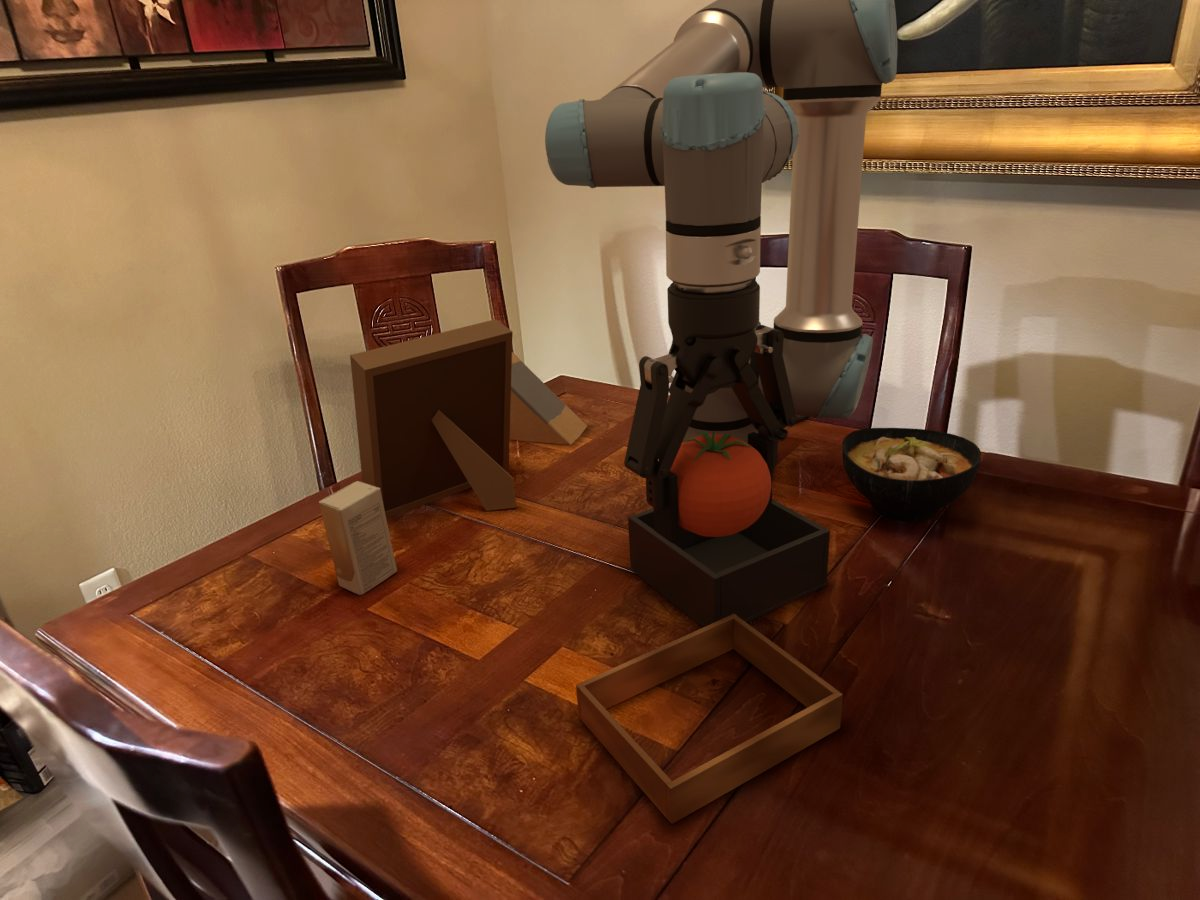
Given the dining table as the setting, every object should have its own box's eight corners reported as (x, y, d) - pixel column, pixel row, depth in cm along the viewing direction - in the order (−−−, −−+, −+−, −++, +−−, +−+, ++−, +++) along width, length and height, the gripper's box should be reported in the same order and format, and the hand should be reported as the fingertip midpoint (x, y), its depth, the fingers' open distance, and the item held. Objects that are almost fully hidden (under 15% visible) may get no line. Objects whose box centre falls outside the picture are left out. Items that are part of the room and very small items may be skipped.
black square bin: (734, 529, 111) (735, 478, 108) (826, 586, 98) (830, 530, 95) (630, 569, 104) (627, 516, 101) (714, 637, 91) (714, 578, 88)
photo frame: (365, 511, 122) (333, 345, 112) (494, 465, 134) (476, 311, 123) (411, 550, 111) (379, 371, 101) (546, 497, 123) (531, 331, 112)
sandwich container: (571, 445, 139) (564, 359, 133) (488, 438, 144) (477, 354, 138) (589, 425, 146) (583, 342, 140) (509, 419, 151) (500, 338, 145)
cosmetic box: (375, 563, 109) (359, 478, 104) (398, 572, 106) (383, 486, 101) (335, 587, 104) (316, 500, 99) (358, 597, 102) (340, 508, 97)
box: (733, 644, 90) (734, 613, 88) (840, 728, 78) (843, 694, 76) (578, 717, 81) (575, 684, 79) (671, 824, 69) (670, 788, 67)
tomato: (770, 561, 73) (773, 458, 69) (653, 556, 75) (649, 456, 71) (769, 503, 82) (772, 409, 78) (665, 501, 84) (662, 408, 80)
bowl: (851, 472, 125) (856, 409, 120) (977, 490, 117) (986, 424, 113) (825, 526, 111) (830, 457, 107) (966, 550, 104) (976, 478, 99)
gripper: (621, 318, 60) (635, 577, 70) (847, 263, 71) (833, 495, 80) (569, 298, 66) (588, 539, 76) (785, 250, 77) (778, 467, 86)
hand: (714, 516), depth 78 cm, fingers closed on tomato, 10 cm apart
